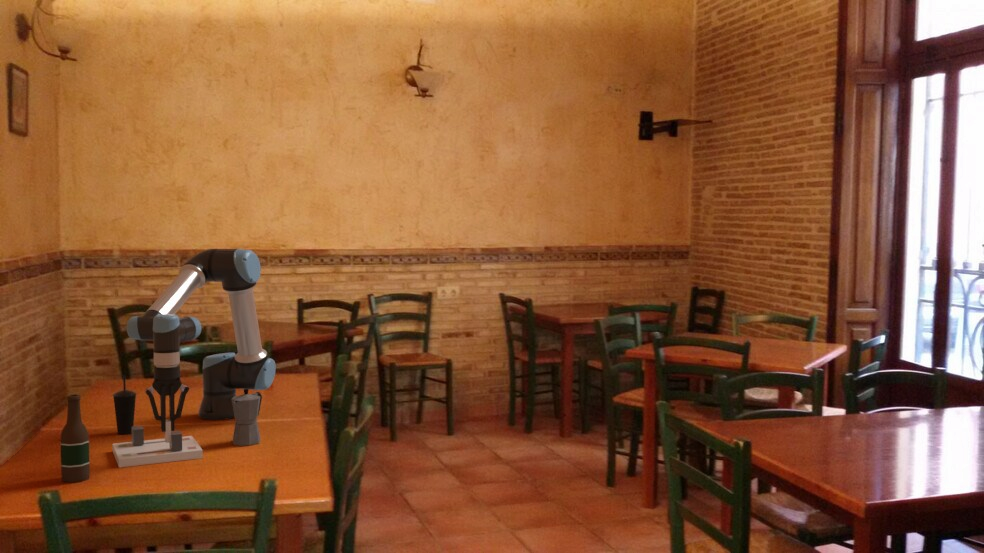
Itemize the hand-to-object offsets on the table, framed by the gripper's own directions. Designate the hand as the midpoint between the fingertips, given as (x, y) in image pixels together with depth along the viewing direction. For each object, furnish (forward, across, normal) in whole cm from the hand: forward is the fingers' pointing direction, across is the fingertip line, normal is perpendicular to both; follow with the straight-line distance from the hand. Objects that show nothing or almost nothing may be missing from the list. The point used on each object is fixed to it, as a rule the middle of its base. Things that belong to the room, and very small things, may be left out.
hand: (168, 441), depth 276 cm
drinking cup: (+6, +9, -40) cm, 41 cm away
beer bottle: (+6, +26, +11) cm, 29 cm away
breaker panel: (+5, +2, -6) cm, 8 cm away
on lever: (+3, +7, -12) cm, 14 cm away
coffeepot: (+6, -26, -10) cm, 29 cm away
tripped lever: (+3, -2, 0) cm, 3 cm away
